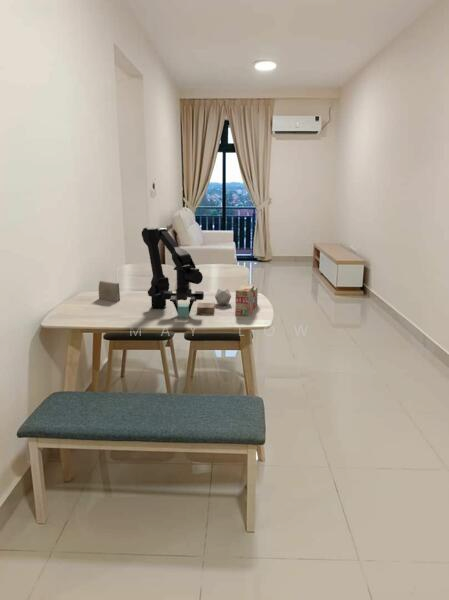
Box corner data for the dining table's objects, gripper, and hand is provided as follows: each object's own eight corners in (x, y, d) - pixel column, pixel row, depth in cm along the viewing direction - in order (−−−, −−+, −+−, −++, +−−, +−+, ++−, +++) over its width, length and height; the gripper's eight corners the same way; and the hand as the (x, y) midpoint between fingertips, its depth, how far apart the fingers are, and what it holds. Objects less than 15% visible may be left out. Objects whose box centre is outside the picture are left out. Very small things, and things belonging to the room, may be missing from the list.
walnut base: (197, 313, 212) (196, 307, 211) (198, 308, 219) (198, 302, 219) (213, 313, 211) (213, 307, 211) (214, 308, 219) (214, 303, 218)
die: (225, 308, 222) (235, 292, 223) (210, 299, 222) (220, 283, 223) (225, 309, 230) (234, 294, 231) (211, 301, 231) (220, 285, 231)
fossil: (120, 300, 234) (119, 282, 231) (116, 302, 231) (115, 284, 228) (103, 297, 239) (102, 280, 236) (98, 299, 236) (97, 281, 233)
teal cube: (177, 316, 206) (177, 306, 205) (179, 313, 211) (178, 303, 210) (188, 316, 206) (188, 306, 205) (189, 313, 211) (189, 303, 210)
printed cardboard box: (245, 303, 230) (246, 280, 226) (257, 304, 228) (258, 280, 225) (235, 315, 210) (235, 289, 207) (248, 316, 208) (248, 290, 205)
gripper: (160, 284, 197) (161, 318, 201) (202, 284, 197) (202, 318, 201) (163, 278, 208) (164, 311, 212) (203, 279, 207) (204, 311, 211)
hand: (183, 313), depth 209 cm, fingers closed on teal cube, 5 cm apart
